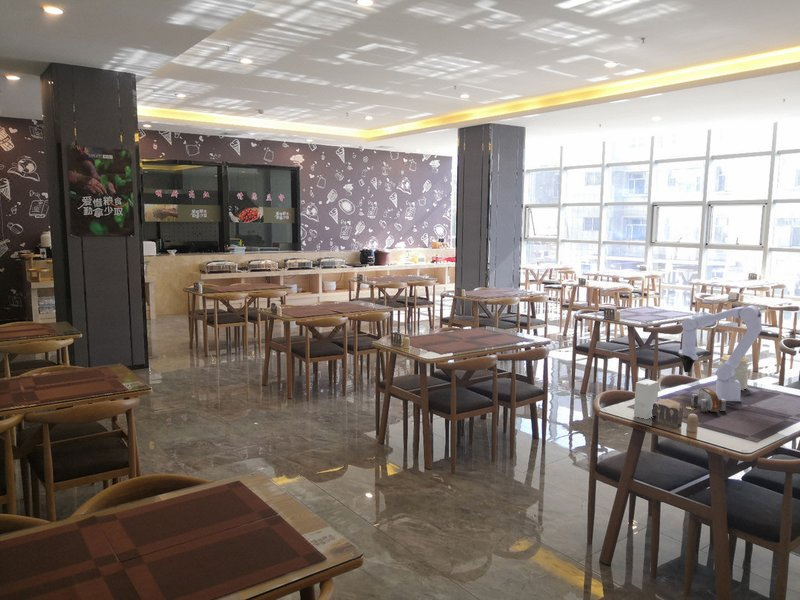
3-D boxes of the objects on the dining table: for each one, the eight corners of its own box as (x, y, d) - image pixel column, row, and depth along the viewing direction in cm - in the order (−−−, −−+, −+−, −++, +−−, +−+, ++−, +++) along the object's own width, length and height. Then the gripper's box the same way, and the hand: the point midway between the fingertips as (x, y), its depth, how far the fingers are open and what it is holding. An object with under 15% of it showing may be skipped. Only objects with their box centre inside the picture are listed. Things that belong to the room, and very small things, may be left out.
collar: (712, 405, 272) (713, 393, 271) (715, 406, 270) (715, 394, 269) (691, 405, 272) (691, 393, 271) (693, 406, 270) (694, 395, 269)
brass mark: (693, 407, 269) (693, 406, 269) (697, 409, 265) (697, 408, 265) (683, 407, 269) (683, 406, 269) (688, 409, 265) (688, 408, 265)
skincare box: (643, 413, 260) (645, 378, 258) (657, 416, 255) (659, 381, 254) (632, 417, 255) (634, 381, 253) (646, 420, 250) (648, 384, 248)
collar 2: (722, 410, 264) (723, 398, 263) (725, 411, 262) (726, 400, 261) (700, 410, 264) (701, 398, 263) (702, 411, 262) (703, 400, 261)
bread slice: (719, 414, 259) (720, 394, 258) (711, 414, 259) (712, 394, 258) (704, 404, 273) (705, 385, 272) (697, 404, 274) (698, 385, 273)
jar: (724, 382, 311) (726, 348, 309) (752, 388, 301) (754, 352, 298) (712, 387, 303) (714, 351, 301) (740, 392, 293) (742, 355, 290)
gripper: (672, 340, 296) (671, 368, 298) (688, 346, 282) (686, 375, 283) (687, 340, 296) (685, 368, 298) (703, 346, 282) (701, 375, 283)
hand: (687, 372), depth 291 cm, fingers closed
